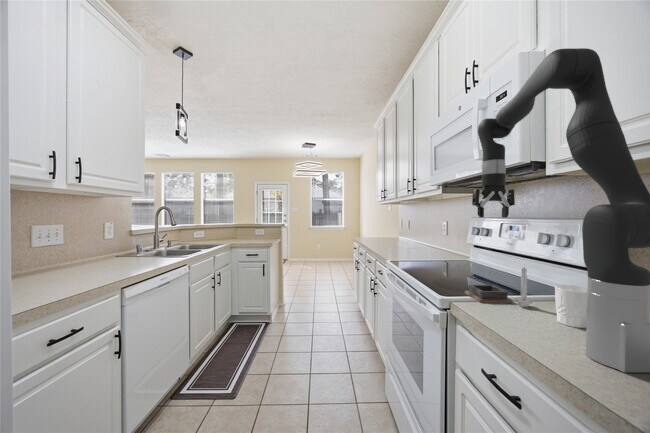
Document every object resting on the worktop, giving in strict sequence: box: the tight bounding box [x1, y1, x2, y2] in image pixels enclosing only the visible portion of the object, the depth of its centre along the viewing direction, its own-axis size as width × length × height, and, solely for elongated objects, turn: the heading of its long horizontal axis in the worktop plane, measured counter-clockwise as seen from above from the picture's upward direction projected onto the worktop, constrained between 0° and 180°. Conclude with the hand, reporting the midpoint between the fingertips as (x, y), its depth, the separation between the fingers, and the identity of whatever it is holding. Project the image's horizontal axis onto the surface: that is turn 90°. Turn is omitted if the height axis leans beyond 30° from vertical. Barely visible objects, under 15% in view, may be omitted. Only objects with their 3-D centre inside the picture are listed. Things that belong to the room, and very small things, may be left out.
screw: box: [514, 267, 534, 309], centre depth 94 cm, size 13×5×5 cm
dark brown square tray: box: [464, 284, 513, 304], centre depth 103 cm, size 11×11×4 cm
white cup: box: [554, 284, 588, 329], centre depth 80 cm, size 8×8×10 cm
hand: (492, 217), depth 104 cm, fingers open, 8 cm apart
